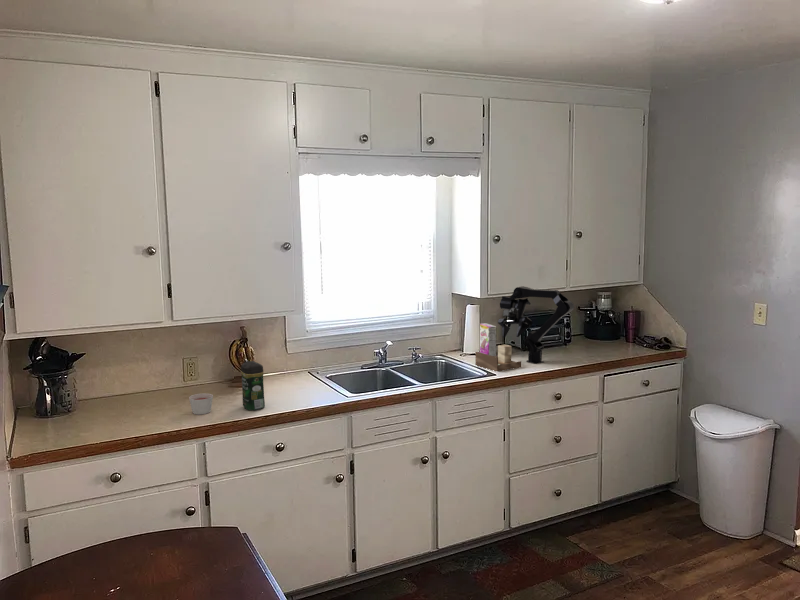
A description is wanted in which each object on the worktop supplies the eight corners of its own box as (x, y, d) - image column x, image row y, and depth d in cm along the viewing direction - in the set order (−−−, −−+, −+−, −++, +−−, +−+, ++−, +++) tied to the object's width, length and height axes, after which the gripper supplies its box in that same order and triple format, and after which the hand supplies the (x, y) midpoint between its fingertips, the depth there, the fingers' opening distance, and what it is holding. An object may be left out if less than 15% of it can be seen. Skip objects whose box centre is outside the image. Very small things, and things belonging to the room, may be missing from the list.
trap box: (499, 361, 340) (499, 348, 339) (521, 367, 326) (521, 353, 326) (475, 365, 331) (475, 351, 330) (496, 371, 318) (496, 357, 317)
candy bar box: (478, 353, 360) (478, 323, 358) (486, 352, 362) (486, 323, 360) (488, 357, 350) (488, 326, 348) (496, 356, 352) (497, 326, 350)
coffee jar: (240, 406, 264) (238, 361, 262) (259, 403, 268) (257, 358, 266) (247, 412, 256) (245, 365, 253) (267, 409, 260) (265, 363, 257)
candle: (218, 411, 258) (217, 395, 257) (199, 417, 250) (199, 401, 249) (203, 407, 263) (202, 392, 262) (184, 413, 255) (184, 397, 255)
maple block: (504, 359, 334) (504, 344, 333) (511, 361, 330) (511, 346, 329) (497, 361, 332) (498, 345, 330) (504, 362, 327) (504, 347, 326)
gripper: (495, 304, 340) (486, 330, 335) (523, 301, 326) (514, 329, 320) (508, 314, 346) (500, 340, 340) (536, 311, 332) (528, 339, 326)
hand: (510, 337), depth 332 cm, fingers open, 9 cm apart
